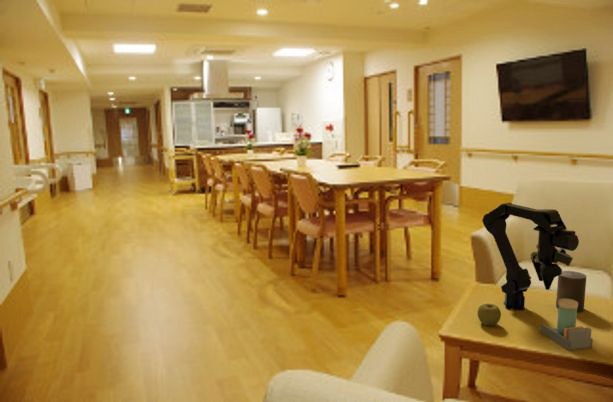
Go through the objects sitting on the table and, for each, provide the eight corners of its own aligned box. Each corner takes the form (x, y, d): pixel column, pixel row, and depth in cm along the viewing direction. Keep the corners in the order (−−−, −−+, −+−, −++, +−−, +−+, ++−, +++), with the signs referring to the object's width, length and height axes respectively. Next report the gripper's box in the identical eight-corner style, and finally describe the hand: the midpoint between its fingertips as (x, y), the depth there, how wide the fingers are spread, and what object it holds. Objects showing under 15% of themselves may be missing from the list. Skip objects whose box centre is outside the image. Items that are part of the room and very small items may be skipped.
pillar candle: (581, 314, 184) (585, 276, 181) (553, 309, 190) (556, 272, 187) (585, 306, 191) (588, 270, 189) (558, 301, 197) (561, 265, 195)
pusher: (563, 342, 161) (564, 328, 160) (580, 340, 163) (581, 326, 162) (565, 343, 160) (566, 329, 159) (582, 341, 162) (583, 327, 161)
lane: (540, 331, 171) (541, 314, 170) (561, 329, 173) (563, 311, 171) (568, 350, 157) (570, 331, 156) (592, 347, 159) (593, 329, 158)
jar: (554, 339, 164) (556, 302, 162) (557, 332, 169) (560, 297, 166) (573, 343, 161) (576, 306, 158) (576, 337, 165) (579, 301, 163)
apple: (497, 330, 173) (498, 311, 172) (474, 325, 177) (475, 307, 176) (502, 322, 179) (503, 304, 178) (479, 318, 183) (480, 300, 182)
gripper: (579, 252, 166) (576, 295, 169) (563, 238, 184) (560, 277, 187) (544, 251, 168) (541, 294, 171) (531, 237, 186) (529, 276, 189)
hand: (544, 285), depth 179 cm, fingers open, 9 cm apart
